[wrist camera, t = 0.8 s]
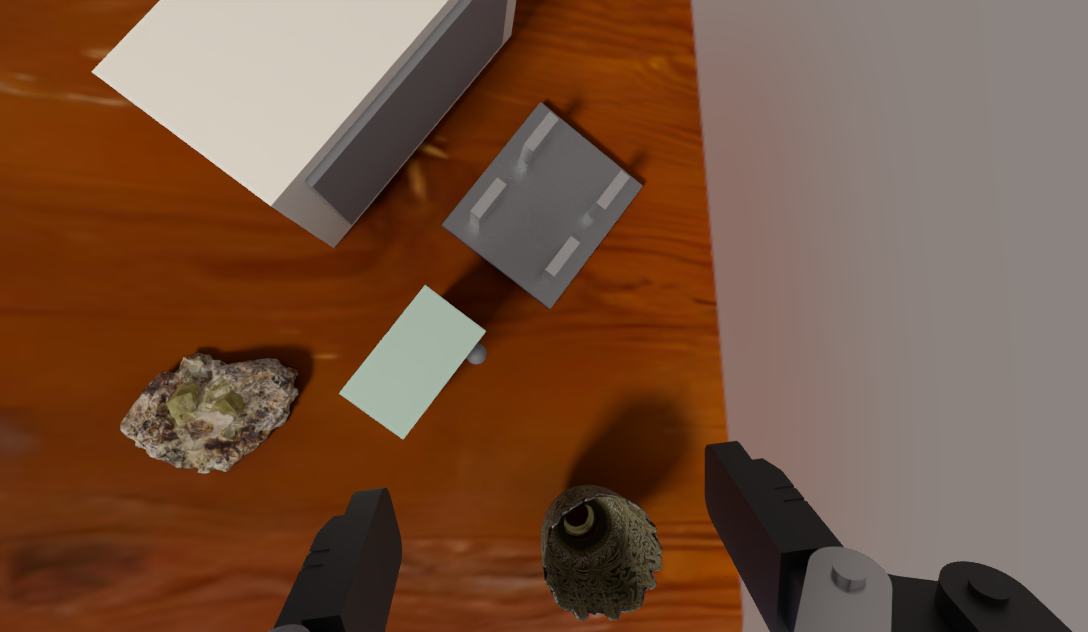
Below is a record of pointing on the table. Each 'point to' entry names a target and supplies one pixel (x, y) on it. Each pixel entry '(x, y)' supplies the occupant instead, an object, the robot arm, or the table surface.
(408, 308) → the pale green rectangular box
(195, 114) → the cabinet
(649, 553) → the cup
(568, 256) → the grey holder base
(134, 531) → the table surface
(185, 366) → the mineral rock
